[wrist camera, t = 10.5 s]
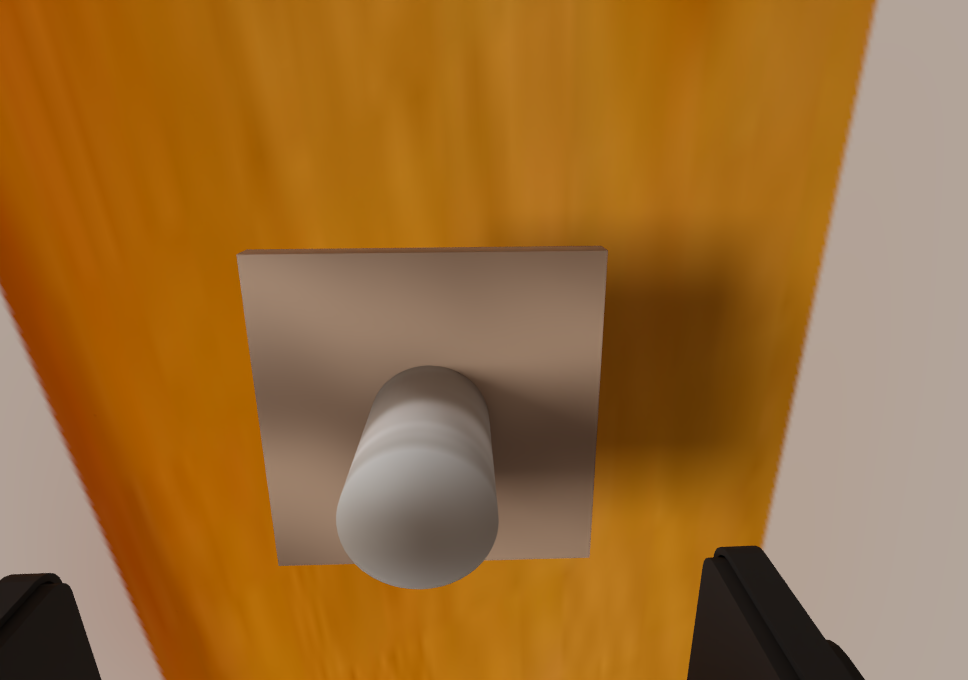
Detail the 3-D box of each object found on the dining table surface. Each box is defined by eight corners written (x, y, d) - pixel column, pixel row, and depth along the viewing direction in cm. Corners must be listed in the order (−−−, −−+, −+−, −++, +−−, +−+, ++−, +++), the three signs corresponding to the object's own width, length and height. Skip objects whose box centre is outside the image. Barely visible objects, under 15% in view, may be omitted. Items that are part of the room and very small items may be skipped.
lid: (246, 249, 17) (138, 300, 11) (601, 245, 17) (668, 293, 11) (285, 549, 20) (216, 706, 14) (584, 541, 20) (630, 692, 14)
